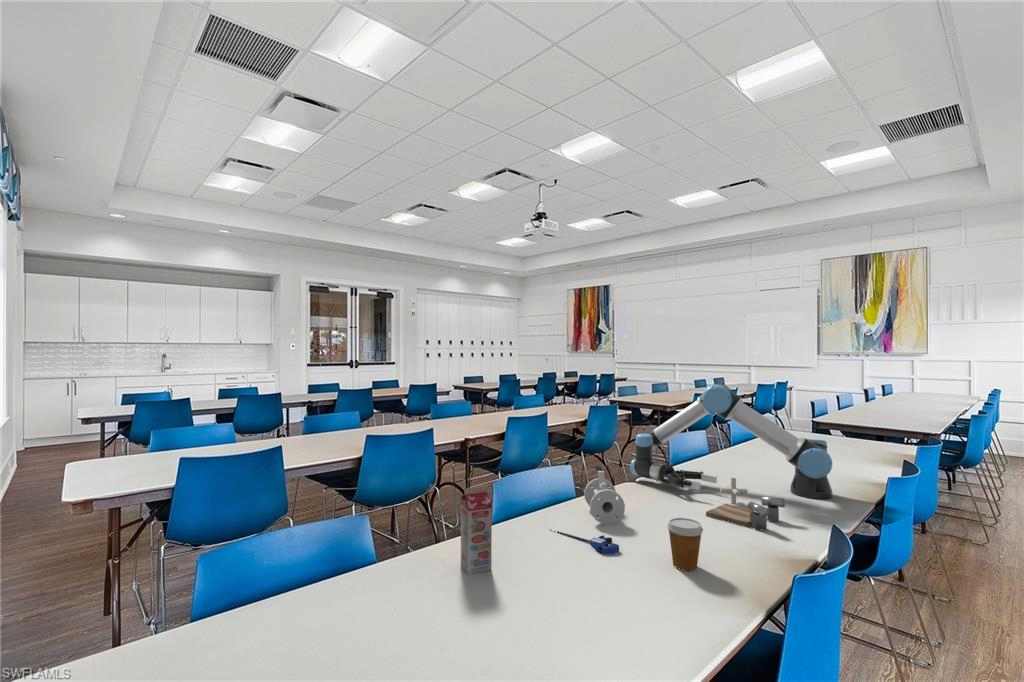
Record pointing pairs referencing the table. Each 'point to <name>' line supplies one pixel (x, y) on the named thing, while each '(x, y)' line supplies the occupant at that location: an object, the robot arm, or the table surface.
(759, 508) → the dark grey piece
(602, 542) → the bar clamp
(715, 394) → the robot arm
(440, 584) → the table surface
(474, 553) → the juice carton
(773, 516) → the grey capsule on block
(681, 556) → the disposable coffee cup
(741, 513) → the mounting pad
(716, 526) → the table surface
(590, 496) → the valve
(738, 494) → the pipe connector
